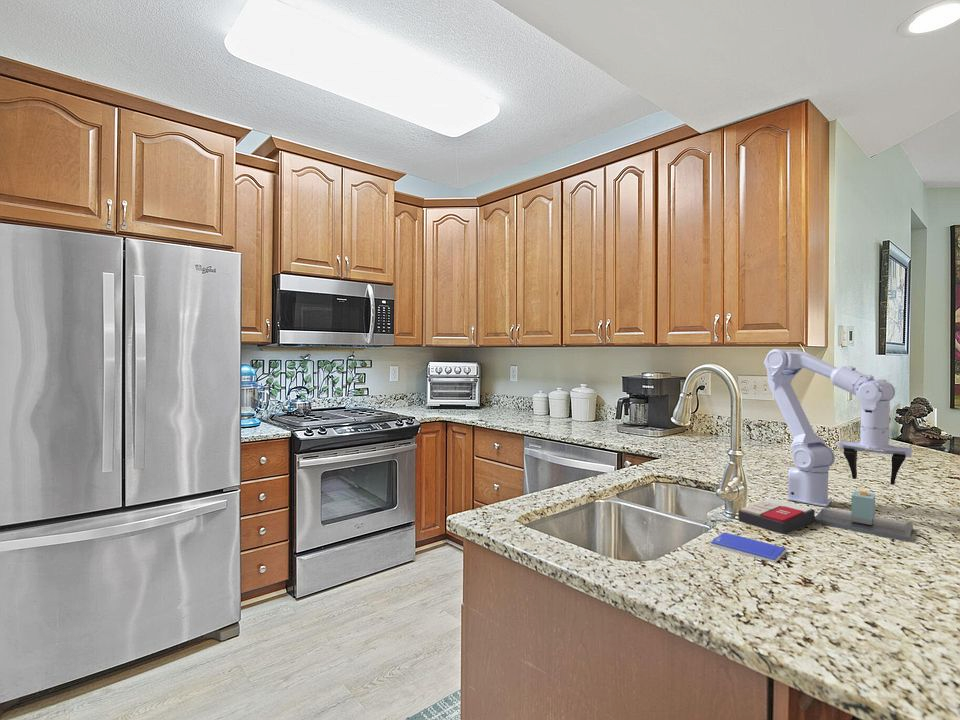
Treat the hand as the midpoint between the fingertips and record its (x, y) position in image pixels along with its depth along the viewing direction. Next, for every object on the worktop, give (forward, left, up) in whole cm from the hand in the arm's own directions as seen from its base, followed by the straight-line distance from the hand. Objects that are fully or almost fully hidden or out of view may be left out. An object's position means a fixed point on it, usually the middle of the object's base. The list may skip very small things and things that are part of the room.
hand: (873, 481), depth 129 cm
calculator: (-17, -21, -10) cm, 29 cm away
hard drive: (-17, -45, -10) cm, 49 cm away
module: (-1, -9, -8) cm, 12 cm away
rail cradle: (-1, -9, -9) cm, 13 cm away
